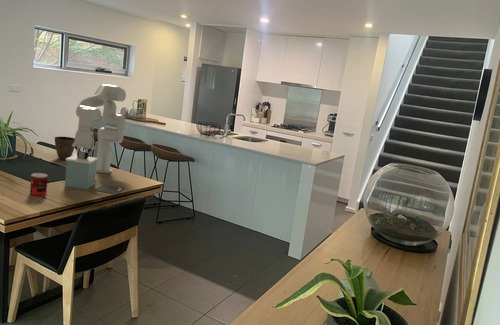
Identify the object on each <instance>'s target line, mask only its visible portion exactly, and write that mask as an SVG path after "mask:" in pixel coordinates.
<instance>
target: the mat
mask: <svg viewBox="0 0 500 325" xmlns="http://www.w3.org/2000/svg"><path fill="white" fill-rule="evenodd" d="M119 187H121V188H122V187H123V186H117V185H109V184H102V183H101V184H100V185H99V186H97V188H95V189H94V190H93V191H94V192H100V191H101V193H107V192H109V193H108V194H114V193H117V194H116V195H118V194H119V193H121V192H122V191H123V190H122V189H121V188H119ZM118 188H119V189H121V190H122V191H121V190H120V191H119V189H118ZM117 190H118V191H117Z"/></svg>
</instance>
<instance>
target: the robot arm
mask: <svg viewBox="0 0 500 325" xmlns="http://www.w3.org/2000/svg"><path fill="white" fill-rule="evenodd" d="M126 98H127V93H126V91H125V89H123V88H122V87H120V86H118V85H113V84H105V83H103V84H100V85H99V86H98V88H97V90H96V91H95V92H94V94H93V95H92V96H89V97H86V98H84V99H82V100H81V101H79V104H78V105H77V107H76V109H75V114H76V116H77V117H78V126H77V129H76V132H75V135H74V138H75V140H74V143H73V144H72V146H73V147H74V150H76V152H77V153H76V155H77V156H78V157H79V151H81V150H82V148H85V151H86V153H85V158H84V159H87V158H88V157H89V153H90V152H91V151H93V150H96V147H95V145H94V143H95V142H94V131H95V128H94V127H93V121H97V120H100V118H101V117H102V118H101V123H102V125H103V126H105V127H100V128H99V129H98V130H97V132H96V133H97V151H96V158H98V160H97V163H96V173H101V174H109V173H112V171H113V170H112V168H111V159H112V148H113V146H112V144H111V143H115V144H121V143H122V142H123V140H124V136H125V128H126V117H125V115H123V114H120V113H117V105H116V102H124V101H126ZM115 101H116V102H115ZM102 106H103V109H102V110H103V111H101V110H100V109H99V108H98V107H102ZM106 126H107V127H106ZM111 127H113V128H111ZM78 157H77V158H78Z"/></svg>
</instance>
